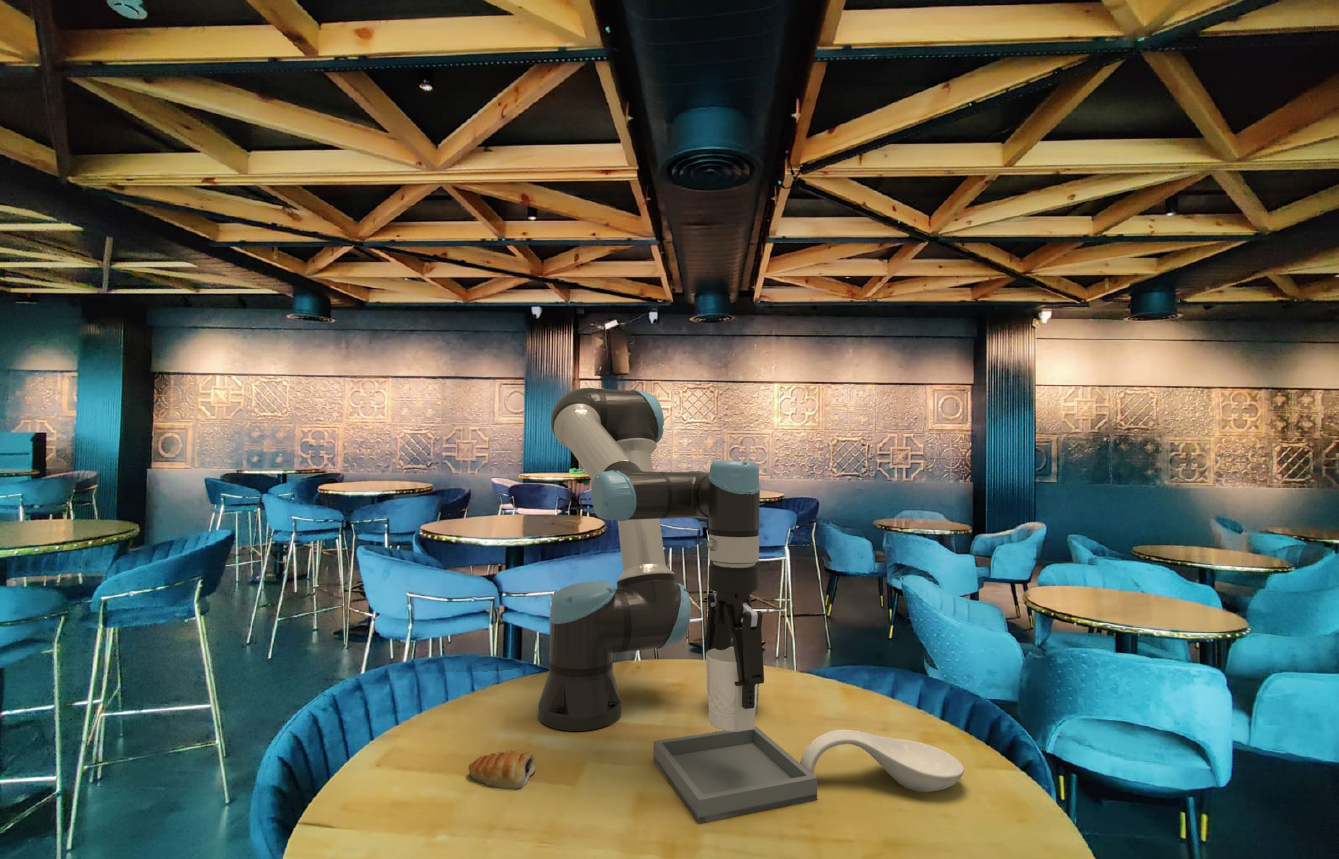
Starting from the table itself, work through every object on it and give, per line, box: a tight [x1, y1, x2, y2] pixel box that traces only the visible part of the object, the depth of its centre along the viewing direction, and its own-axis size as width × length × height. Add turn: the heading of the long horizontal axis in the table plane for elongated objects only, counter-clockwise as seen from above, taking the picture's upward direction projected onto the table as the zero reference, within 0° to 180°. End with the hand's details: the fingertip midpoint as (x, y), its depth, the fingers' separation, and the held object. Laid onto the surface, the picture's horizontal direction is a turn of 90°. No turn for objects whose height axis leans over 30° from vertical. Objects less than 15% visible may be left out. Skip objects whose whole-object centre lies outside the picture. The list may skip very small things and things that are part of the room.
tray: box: [653, 725, 818, 824], centre depth 94 cm, size 18×18×3 cm
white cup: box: [705, 647, 759, 732], centre depth 94 cm, size 8×8×10 cm
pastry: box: [468, 749, 536, 790], centre depth 93 cm, size 9×7×4 cm
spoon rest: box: [799, 729, 965, 793], centre depth 94 cm, size 24×12×7 cm, turn 93°
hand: (732, 718), depth 94 cm, fingers closed on white cup, 7 cm apart
